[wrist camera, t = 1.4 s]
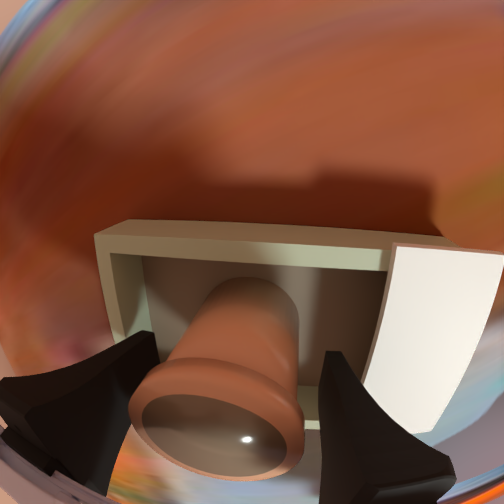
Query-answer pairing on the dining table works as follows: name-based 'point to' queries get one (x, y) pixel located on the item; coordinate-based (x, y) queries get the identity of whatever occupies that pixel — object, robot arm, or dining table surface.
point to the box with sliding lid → (317, 299)
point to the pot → (229, 387)
